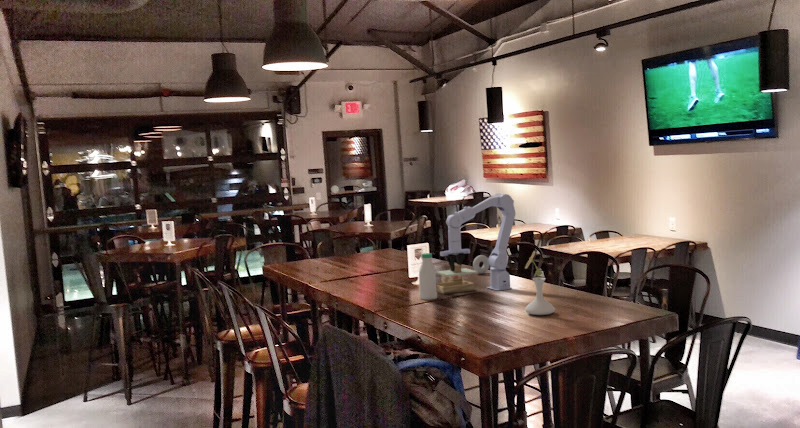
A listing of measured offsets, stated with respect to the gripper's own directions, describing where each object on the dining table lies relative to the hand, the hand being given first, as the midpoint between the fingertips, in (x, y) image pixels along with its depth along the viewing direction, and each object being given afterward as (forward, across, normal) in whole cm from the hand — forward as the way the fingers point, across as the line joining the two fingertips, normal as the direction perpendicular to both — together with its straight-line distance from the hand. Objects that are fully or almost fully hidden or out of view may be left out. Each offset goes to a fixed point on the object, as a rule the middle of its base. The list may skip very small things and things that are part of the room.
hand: (455, 270), depth 311 cm
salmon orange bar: (+6, -6, -18) cm, 20 cm away
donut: (+10, -35, -37) cm, 52 cm away
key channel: (+10, -6, -17) cm, 21 cm away
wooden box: (+10, -1, -5) cm, 12 cm away
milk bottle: (+10, +17, +5) cm, 20 cm away
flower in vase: (+10, -5, +58) cm, 59 cm away
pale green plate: (+1, 0, 0) cm, 1 cm away
